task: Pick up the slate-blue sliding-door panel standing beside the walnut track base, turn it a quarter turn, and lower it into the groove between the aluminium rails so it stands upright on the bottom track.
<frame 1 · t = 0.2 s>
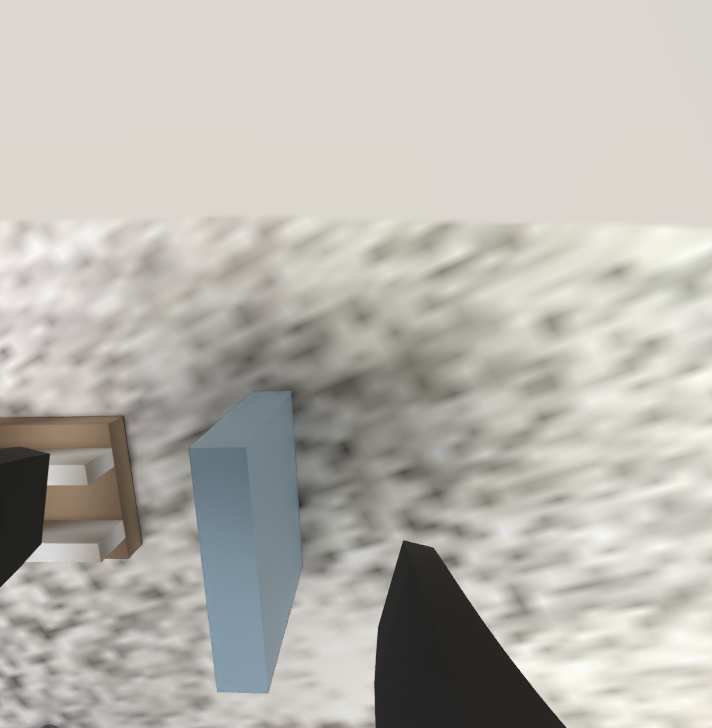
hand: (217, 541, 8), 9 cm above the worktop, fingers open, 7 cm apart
bottom track: (23, 482, 19), on the worktop
door panel: (279, 481, 18), on the worktop
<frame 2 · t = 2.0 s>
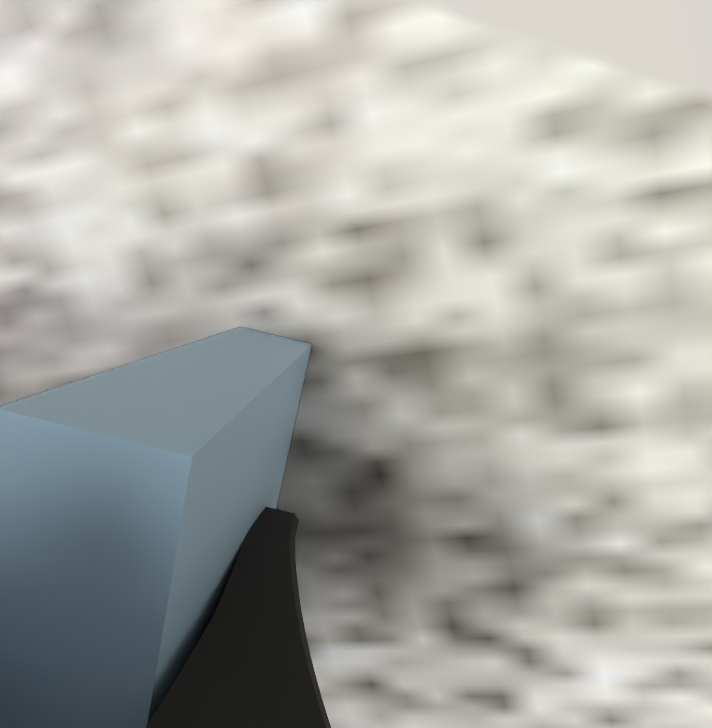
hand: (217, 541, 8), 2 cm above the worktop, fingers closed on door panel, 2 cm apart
door panel: (243, 500, 10), on the worktop, touching gripper
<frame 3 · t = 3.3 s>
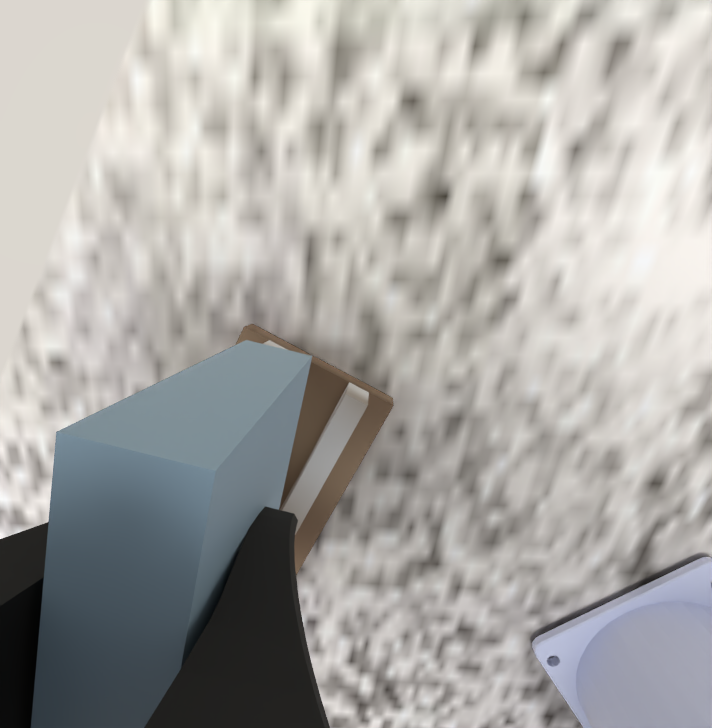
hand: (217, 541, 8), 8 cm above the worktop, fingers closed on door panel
bottom track: (266, 468, 17), on the worktop
door panel: (249, 498, 11), point 6 cm above the worktop, touching gripper
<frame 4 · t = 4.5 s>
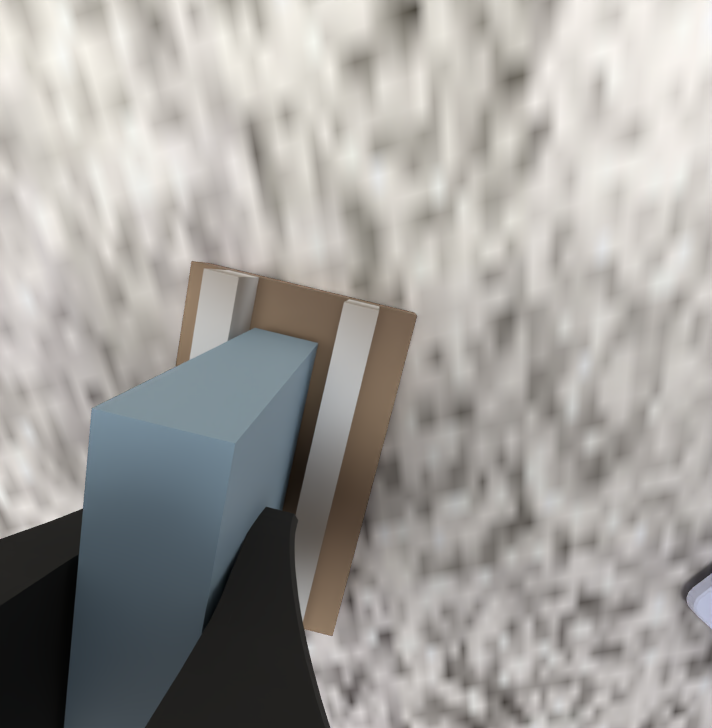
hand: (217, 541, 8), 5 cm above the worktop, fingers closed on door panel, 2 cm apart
bottom track: (276, 449, 13), on the worktop
door panel: (258, 479, 11), point 2 cm above the worktop, touching gripper
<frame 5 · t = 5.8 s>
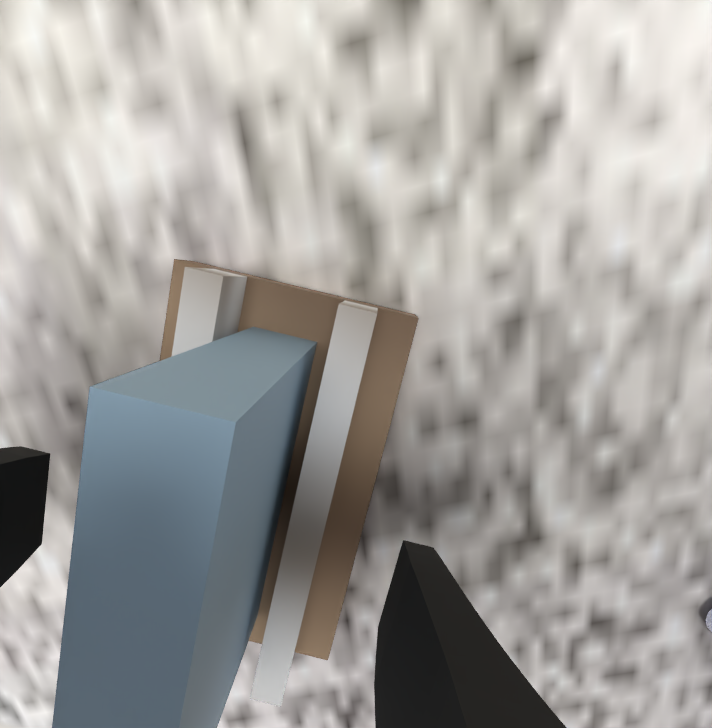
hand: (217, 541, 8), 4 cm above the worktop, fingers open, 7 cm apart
bottom track: (267, 461, 12), on the worktop
door panel: (255, 481, 11), point 1 cm above the worktop, touching bottom track
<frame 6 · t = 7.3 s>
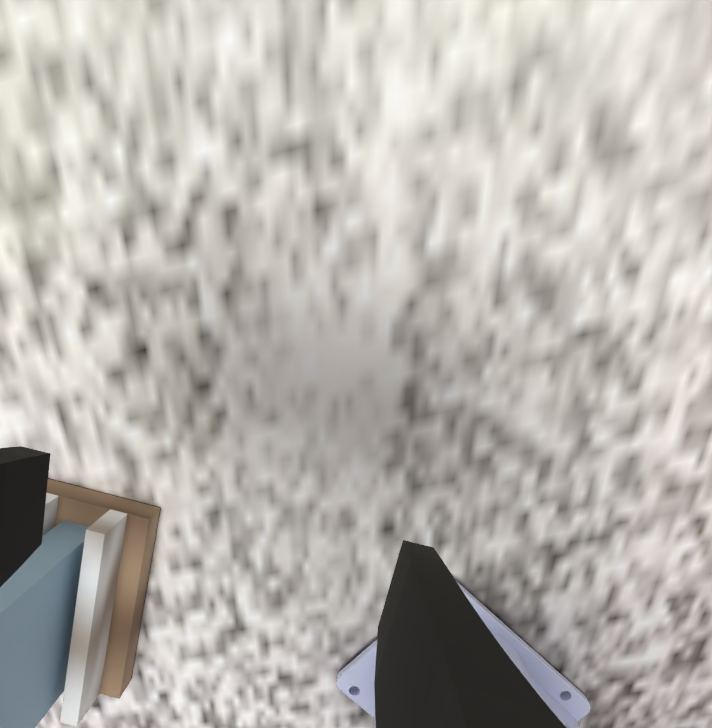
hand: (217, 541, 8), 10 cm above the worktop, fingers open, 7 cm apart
bottom track: (86, 582, 21), on the worktop
door panel: (70, 599, 20), point 1 cm above the worktop, touching bottom track
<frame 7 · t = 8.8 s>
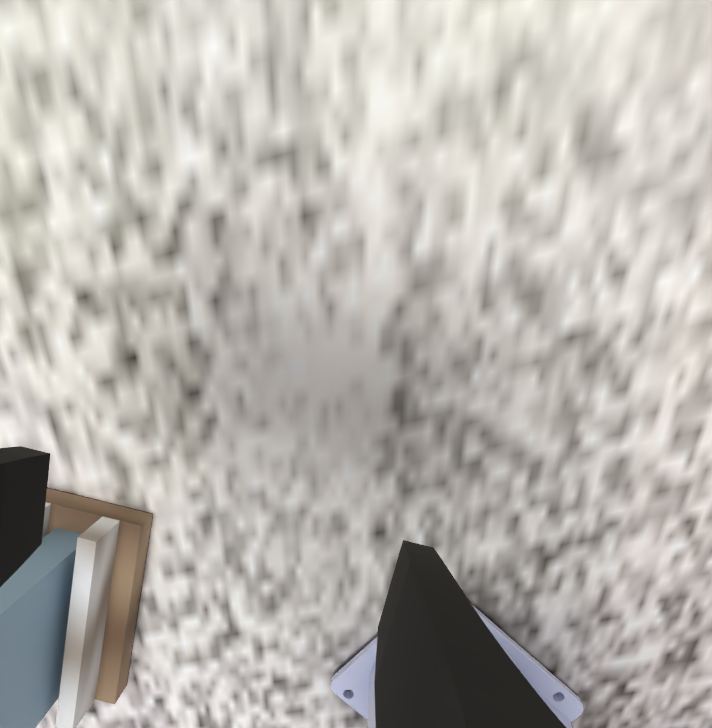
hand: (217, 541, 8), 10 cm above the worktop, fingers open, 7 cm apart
bottom track: (80, 589, 21), on the worktop
door panel: (64, 606, 20), point 1 cm above the worktop, touching bottom track
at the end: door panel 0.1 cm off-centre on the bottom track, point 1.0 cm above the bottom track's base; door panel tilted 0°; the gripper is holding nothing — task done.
